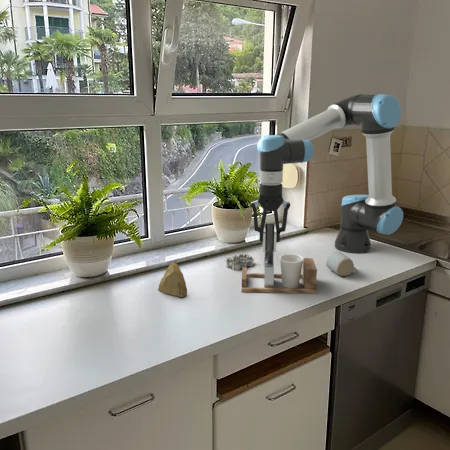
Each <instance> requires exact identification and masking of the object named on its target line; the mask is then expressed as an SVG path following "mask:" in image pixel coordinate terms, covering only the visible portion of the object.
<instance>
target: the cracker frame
mask: <svg viewBox="0 0 450 450" xmlns="http://www.w3.org/2000/svg"><path fill="white" fill-rule="evenodd" d="M303 258H304V260H303V264H302V270H301V275H300V279H301V280H302V285H303V288H287V287H283V288H282V287H279V288H278V287H273V288H264V287H247V278H257V279H258V278H260V279H261V278H263V279H264V273H258V272H257V273H256V272H254V273H253V272H252V273H251V272H250V273H248V270H247V267H246V268H245V267H242V268H241V269H242V270H241V293H268V294H269V293H270V294H271V293H273V294H277V293H278V294H279V293H280V294H288V293H289V294H317V273H318V269H317V266H316V264H315V260H314V258H313V257H312V258H311V257H303ZM274 279H282V275H281V273H274Z"/></svg>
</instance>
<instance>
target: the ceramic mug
mask: <svg viewBox="0 0 450 450" xmlns="http://www.w3.org/2000/svg"><path fill="white" fill-rule="evenodd" d="M354 265H355V264H354V262H353V260H352V259H351V258H350V257H348V256H347V255H345V254H344V253H343V252H342V251H341V250H334V251H332V252H331V253H329V255H328V256H327V258H326V267H327V268H328V269H329V270H330V271H332V272H333V273H335V274H336V275H338V276H341V277H347V276H350V275H351V274H352V273H353V274H356V273H357V271H358V268H357V267H356V266H354Z"/></svg>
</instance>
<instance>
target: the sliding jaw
mask: <svg viewBox="0 0 450 450" xmlns="http://www.w3.org/2000/svg"><path fill="white" fill-rule="evenodd" d="M264 231H265V233H266V234H265V252H264V258H263V259H264V261H263V274H264V278H263V283H264V284H263V285H264V287H263V288H275V287H274V285H275V284H274V282H275V278H274V274H275V265H274V255H275V252H274V231H275V222H265V226H264Z"/></svg>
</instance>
